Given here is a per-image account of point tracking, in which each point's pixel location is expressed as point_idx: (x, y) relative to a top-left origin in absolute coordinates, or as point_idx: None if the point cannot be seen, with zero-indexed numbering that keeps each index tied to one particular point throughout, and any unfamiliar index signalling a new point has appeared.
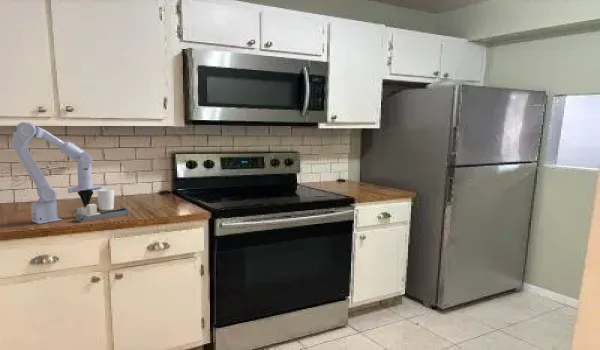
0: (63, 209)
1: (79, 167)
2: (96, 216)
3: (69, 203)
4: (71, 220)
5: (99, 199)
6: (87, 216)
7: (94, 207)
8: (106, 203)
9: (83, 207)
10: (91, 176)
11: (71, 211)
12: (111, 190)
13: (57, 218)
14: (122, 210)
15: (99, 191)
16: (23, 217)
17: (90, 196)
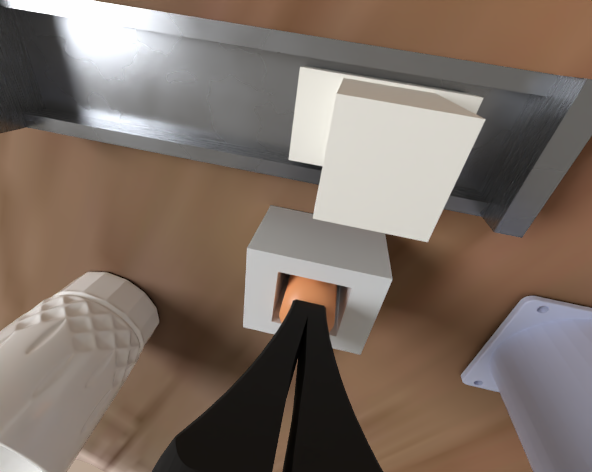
0: (284, 435)
1: None
2: (371, 47)
3: None
4: (497, 234)
5: (110, 379)
6: (483, 85)
7: (378, 96)
8: (91, 315)
9: (334, 317)
10: None
11: (288, 394)
12: None
13: (531, 329)
14: (22, 79)
15: (46, 458)
16: (507, 467)
17: (244, 395)
